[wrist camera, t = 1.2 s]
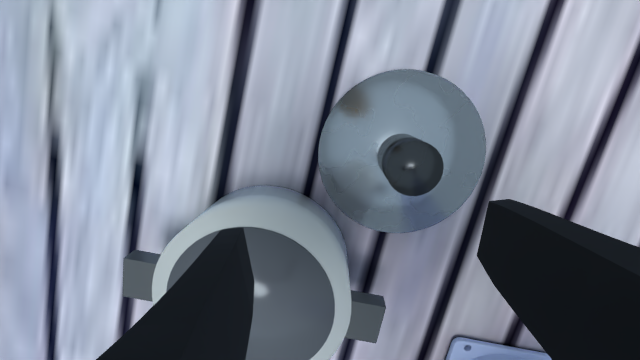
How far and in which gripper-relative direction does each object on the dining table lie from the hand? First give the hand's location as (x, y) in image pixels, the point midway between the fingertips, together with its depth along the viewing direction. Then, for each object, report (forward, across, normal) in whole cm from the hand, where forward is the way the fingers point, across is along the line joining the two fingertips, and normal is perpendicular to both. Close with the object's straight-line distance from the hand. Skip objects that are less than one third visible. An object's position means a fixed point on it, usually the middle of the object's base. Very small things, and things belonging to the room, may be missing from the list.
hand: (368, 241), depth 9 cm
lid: (+10, -4, +2) cm, 12 cm away
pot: (+10, +5, +9) cm, 14 cm away
